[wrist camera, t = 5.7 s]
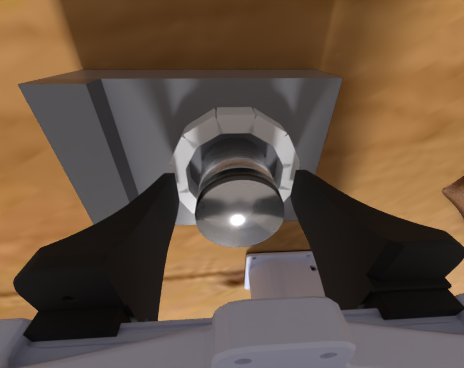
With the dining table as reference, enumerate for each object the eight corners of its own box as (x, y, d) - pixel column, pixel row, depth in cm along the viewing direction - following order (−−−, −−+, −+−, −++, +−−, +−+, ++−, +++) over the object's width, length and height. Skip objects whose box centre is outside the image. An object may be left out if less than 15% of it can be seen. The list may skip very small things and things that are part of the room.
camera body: (314, 69, 15) (357, 82, 10) (289, 192, 21) (308, 233, 16) (82, 69, 14) (17, 84, 9) (128, 197, 20) (103, 242, 16)
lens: (271, 137, 13) (294, 182, 9) (261, 193, 16) (276, 247, 12) (200, 135, 13) (191, 180, 9) (202, 192, 15) (196, 248, 11)
